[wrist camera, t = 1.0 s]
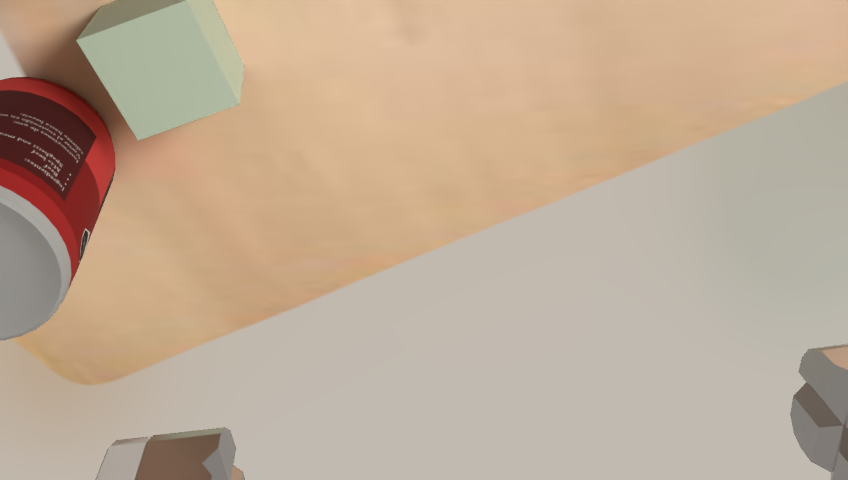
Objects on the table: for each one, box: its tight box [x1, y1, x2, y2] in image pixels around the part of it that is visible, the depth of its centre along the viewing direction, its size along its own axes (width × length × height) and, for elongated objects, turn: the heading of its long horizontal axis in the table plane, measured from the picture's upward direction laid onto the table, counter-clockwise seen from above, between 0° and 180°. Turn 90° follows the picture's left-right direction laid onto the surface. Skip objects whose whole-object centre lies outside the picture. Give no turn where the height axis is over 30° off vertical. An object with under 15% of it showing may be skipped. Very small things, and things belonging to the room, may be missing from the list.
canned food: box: [0, 77, 115, 340], centre depth 33 cm, size 8×8×11 cm
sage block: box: [76, 0, 245, 141], centre depth 33 cm, size 5×5×5 cm
